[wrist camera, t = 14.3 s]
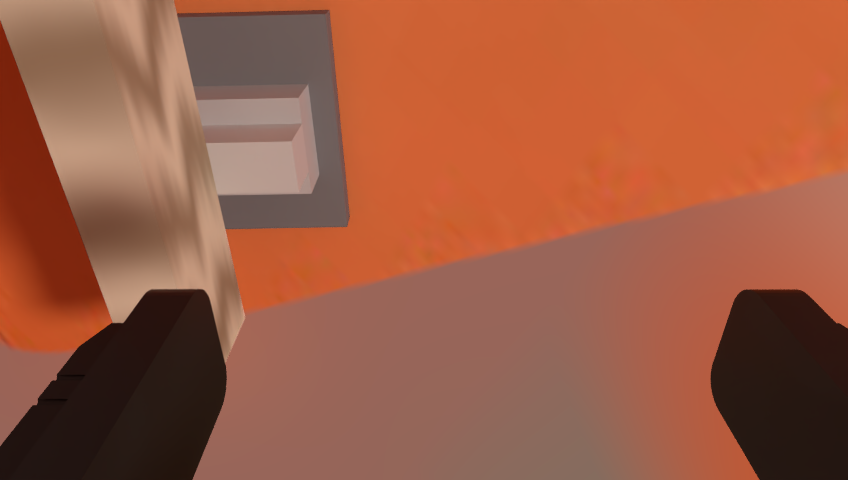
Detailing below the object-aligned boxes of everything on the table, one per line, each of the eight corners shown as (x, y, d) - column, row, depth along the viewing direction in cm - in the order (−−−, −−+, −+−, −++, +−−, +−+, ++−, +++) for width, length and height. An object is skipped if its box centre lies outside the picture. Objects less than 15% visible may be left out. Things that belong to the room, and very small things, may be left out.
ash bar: (90, -25, 26) (-10, -7, 20) (167, -27, 26) (90, -9, 20) (189, 318, 36) (142, 400, 30) (245, 317, 36) (209, 399, 30)
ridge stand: (64, 16, 34) (-20, 40, 28) (329, 10, 34) (306, 33, 28) (130, 221, 41) (74, 278, 35) (349, 216, 41) (335, 273, 35)
